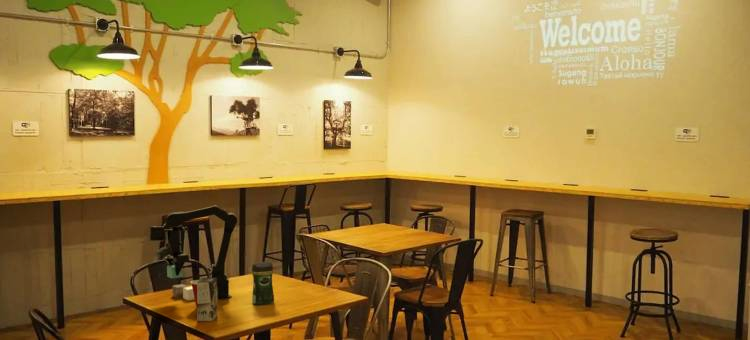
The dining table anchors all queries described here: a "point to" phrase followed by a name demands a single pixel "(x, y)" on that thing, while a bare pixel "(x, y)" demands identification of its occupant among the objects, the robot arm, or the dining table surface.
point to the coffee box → (207, 299)
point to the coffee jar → (262, 283)
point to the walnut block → (178, 290)
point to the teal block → (172, 272)
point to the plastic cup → (195, 290)
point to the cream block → (188, 293)
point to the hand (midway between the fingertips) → (174, 274)
